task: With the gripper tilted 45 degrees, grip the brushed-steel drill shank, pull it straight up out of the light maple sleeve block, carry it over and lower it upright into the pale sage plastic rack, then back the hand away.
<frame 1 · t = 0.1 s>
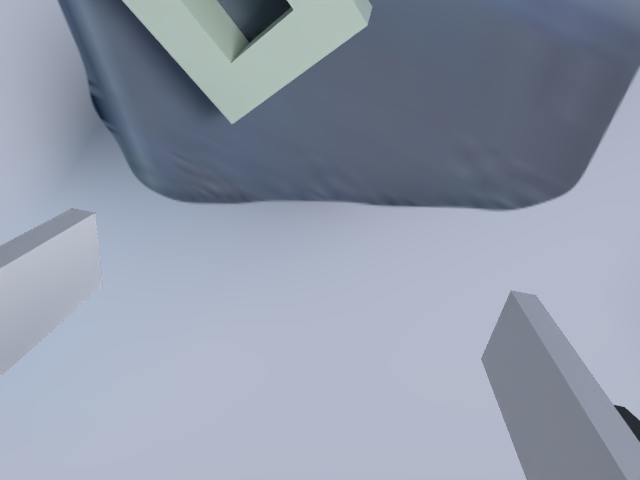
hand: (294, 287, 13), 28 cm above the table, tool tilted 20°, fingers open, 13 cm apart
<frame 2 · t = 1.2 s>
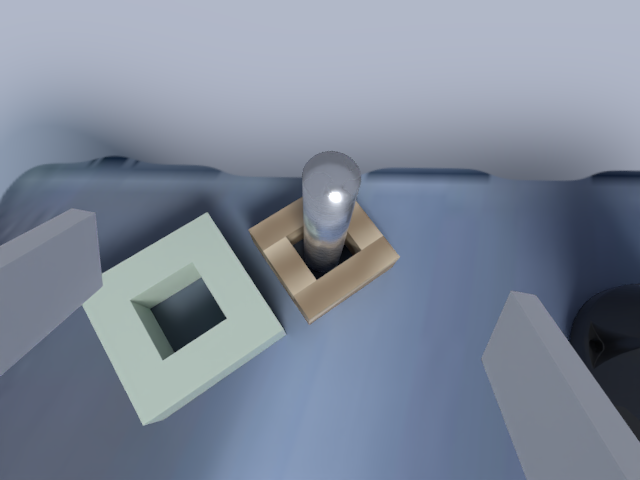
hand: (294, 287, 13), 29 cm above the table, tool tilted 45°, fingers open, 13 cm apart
sage rack: (193, 317, 41), on the table
maple sleeve: (322, 254, 44), on the table
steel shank: (325, 225, 35), in the maple sleeve
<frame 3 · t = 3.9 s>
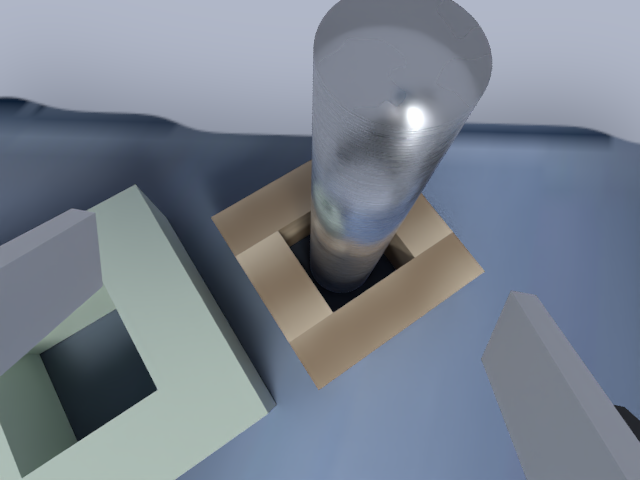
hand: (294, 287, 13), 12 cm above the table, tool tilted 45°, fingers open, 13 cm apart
sage rack: (113, 370, 23), on the table
maple sleeve: (340, 262, 26), on the table
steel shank: (356, 208, 17), in the maple sleeve
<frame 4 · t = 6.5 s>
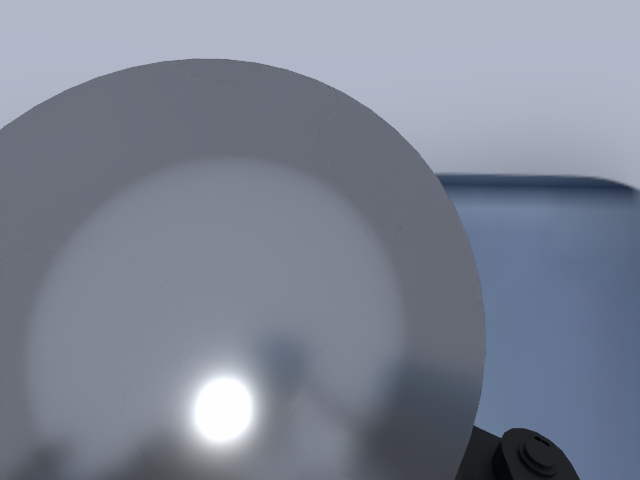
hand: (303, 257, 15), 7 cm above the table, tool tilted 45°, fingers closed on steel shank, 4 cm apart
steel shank: (277, 359, 11), in the maple sleeve, touching gripper
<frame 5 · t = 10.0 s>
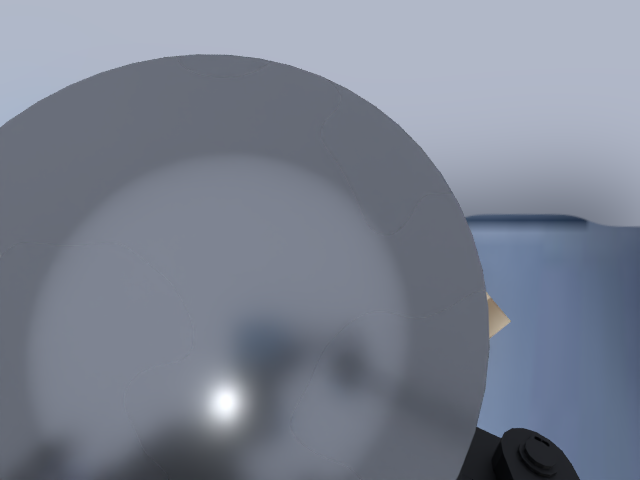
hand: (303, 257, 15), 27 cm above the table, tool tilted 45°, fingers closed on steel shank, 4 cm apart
maple sleeve: (416, 313, 41), on the table
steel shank: (278, 358, 11), point 29 cm above the table, touching gripper
when the fingers open (9 cm above the table, at t = 13.8 s): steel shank drops 2 cm, resting in sage rack.
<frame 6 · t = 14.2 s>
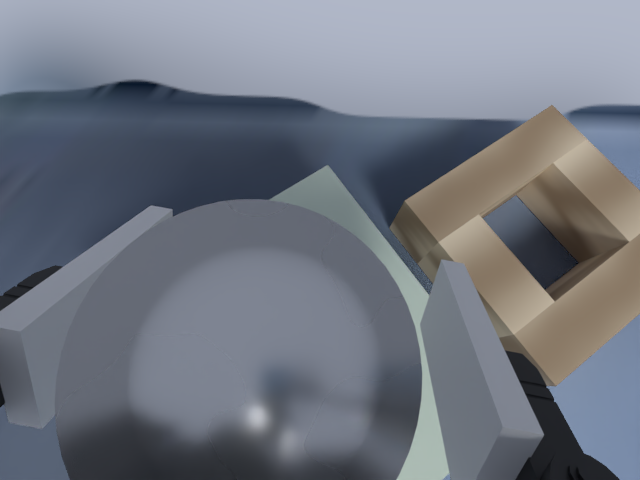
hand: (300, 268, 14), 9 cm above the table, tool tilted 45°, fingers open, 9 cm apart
sage rack: (290, 369, 21), on the table
maple sleeve: (515, 251, 24), on the table
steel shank: (283, 368, 13), in the sage rack
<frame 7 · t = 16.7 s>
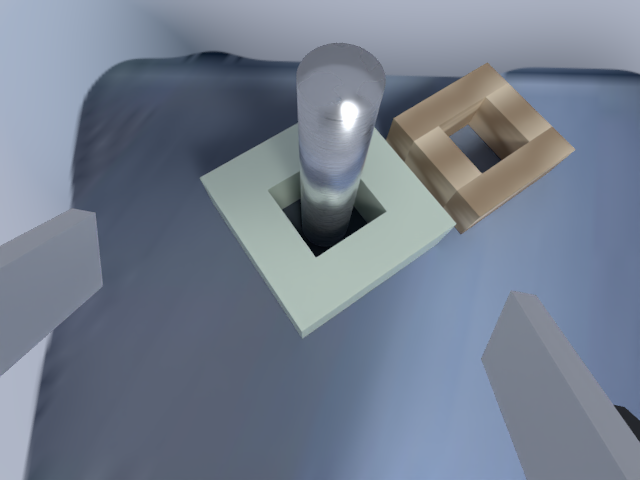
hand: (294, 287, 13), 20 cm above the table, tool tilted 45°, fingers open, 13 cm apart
sage rack: (324, 224, 35), on the table
maple sleeve: (465, 158, 37), on the table
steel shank: (330, 175, 26), in the sage rack
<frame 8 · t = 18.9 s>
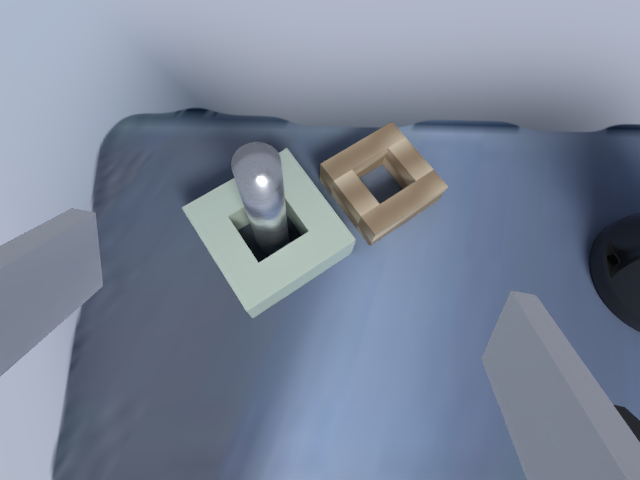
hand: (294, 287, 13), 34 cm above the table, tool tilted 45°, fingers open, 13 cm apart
sage rack: (271, 238, 49), on the table
maple sleeve: (378, 190, 51), on the table
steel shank: (266, 209, 40), in the sage rack
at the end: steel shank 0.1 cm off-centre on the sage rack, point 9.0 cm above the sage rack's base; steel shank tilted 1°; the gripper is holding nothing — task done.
